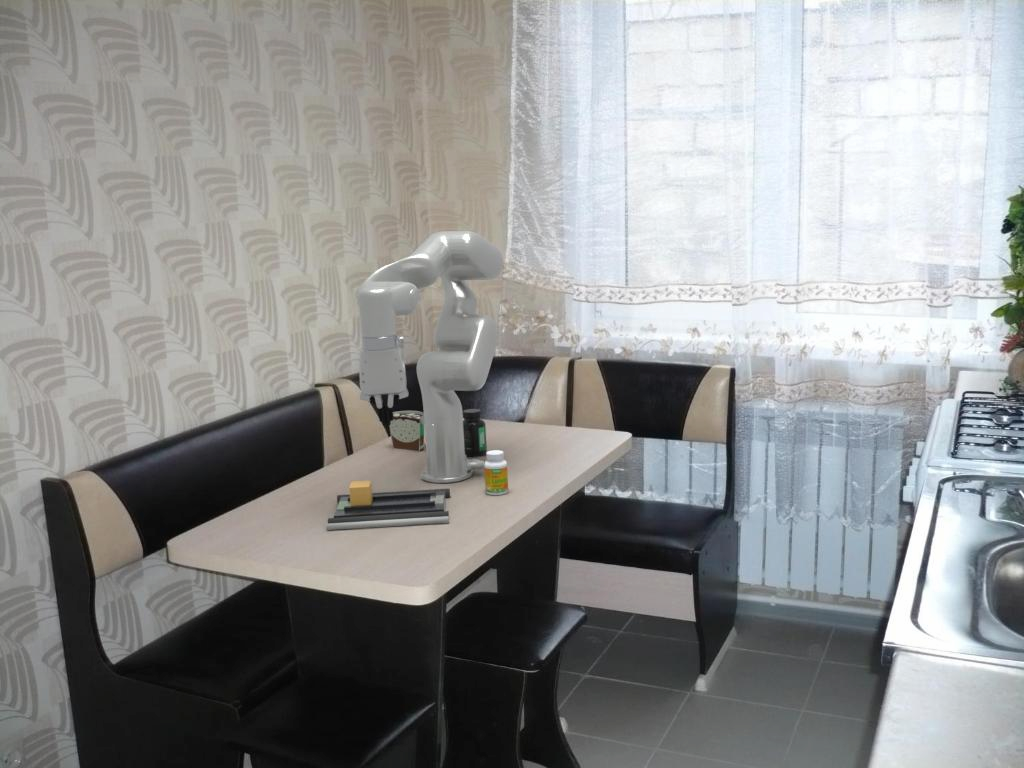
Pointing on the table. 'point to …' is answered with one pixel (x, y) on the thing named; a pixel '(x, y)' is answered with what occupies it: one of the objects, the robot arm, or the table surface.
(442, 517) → the pair of dark bars
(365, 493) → the toggle
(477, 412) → the supplement bottle
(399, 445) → the food container
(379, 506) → the railed metal tray
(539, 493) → the table surface
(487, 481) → the supplement bottle
